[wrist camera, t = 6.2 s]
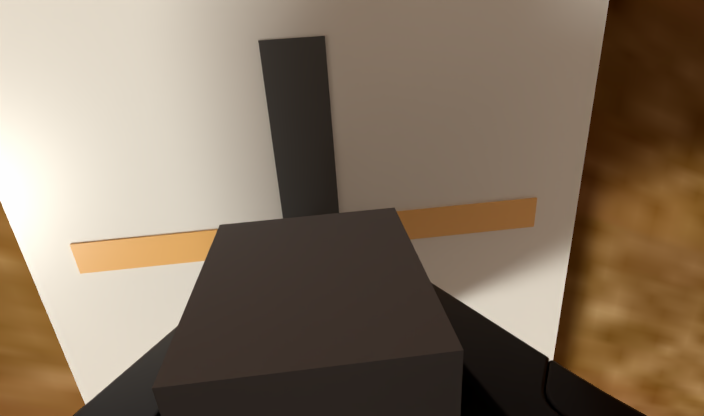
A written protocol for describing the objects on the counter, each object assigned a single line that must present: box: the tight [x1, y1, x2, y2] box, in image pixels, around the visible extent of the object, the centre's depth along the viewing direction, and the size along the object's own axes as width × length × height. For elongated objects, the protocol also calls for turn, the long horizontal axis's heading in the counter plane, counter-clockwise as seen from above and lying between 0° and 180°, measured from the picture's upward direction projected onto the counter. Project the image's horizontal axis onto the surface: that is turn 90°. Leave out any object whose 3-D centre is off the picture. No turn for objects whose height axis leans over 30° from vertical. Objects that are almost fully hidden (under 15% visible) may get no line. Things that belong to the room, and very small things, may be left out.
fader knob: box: [152, 207, 464, 416], centre depth 7 cm, size 3×4×5 cm
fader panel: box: [0, 0, 609, 405], centre depth 12 cm, size 12×21×2 cm, turn 4°
